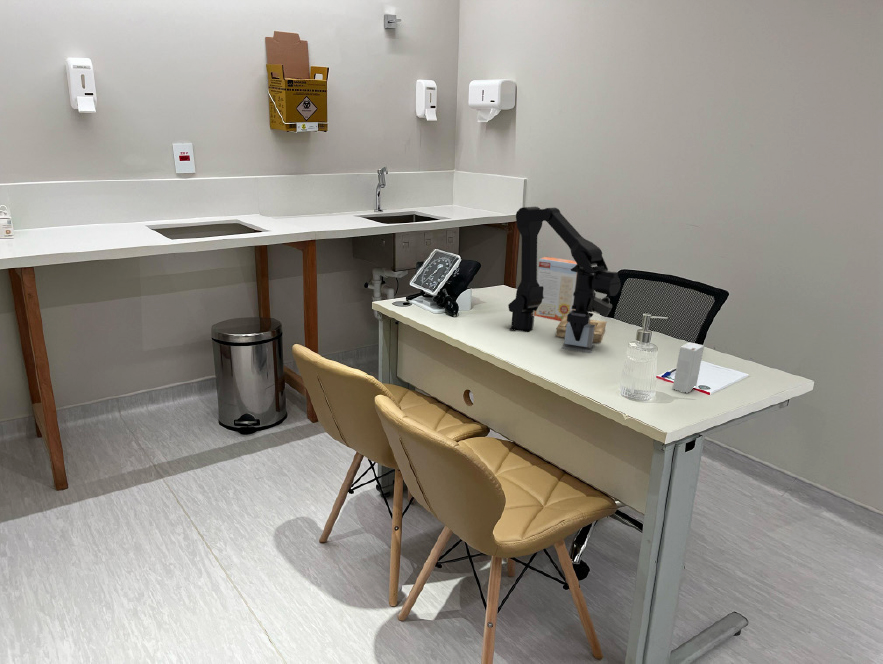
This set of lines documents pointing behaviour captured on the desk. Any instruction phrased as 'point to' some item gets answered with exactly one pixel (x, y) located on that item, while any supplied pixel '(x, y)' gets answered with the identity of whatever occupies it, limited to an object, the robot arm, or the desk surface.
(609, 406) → the desk surface
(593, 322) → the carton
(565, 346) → the rubber mat
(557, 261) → the cracker box
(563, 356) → the desk surface
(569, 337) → the box
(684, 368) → the skincare box
